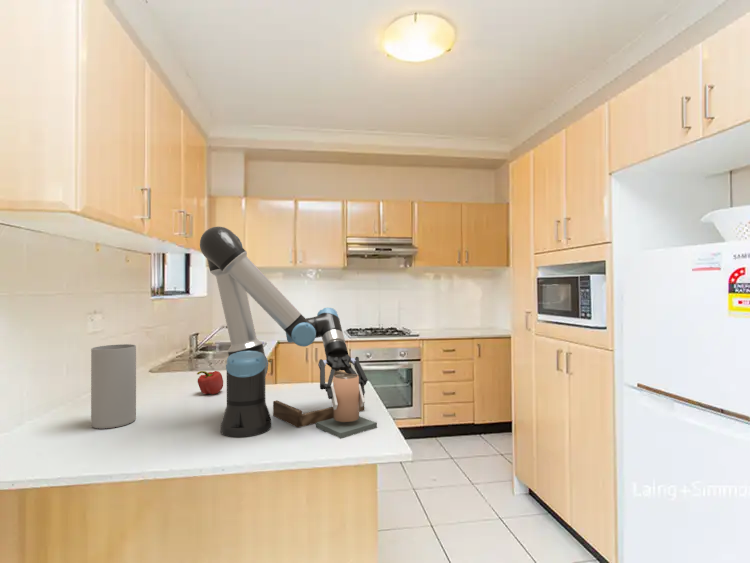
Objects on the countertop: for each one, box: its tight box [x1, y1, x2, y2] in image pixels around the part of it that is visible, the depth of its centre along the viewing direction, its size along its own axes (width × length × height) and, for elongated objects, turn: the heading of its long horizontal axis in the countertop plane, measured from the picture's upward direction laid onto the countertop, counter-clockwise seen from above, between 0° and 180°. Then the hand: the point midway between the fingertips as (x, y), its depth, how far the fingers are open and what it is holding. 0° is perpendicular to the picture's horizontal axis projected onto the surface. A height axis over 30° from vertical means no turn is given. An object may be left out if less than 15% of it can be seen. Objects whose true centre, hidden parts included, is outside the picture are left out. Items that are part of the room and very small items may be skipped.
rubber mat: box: [315, 415, 378, 439], centre depth 131 cm, size 14×13×2 cm
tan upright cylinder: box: [332, 373, 360, 422], centre depth 131 cm, size 8×8×13 cm
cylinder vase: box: [90, 343, 137, 430], centre depth 137 cm, size 12×12×25 cm
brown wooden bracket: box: [272, 370, 365, 429], centre depth 146 cm, size 27×16×12 cm, turn 131°
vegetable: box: [196, 370, 224, 395], centre depth 174 cm, size 11×10×10 cm
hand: (349, 405), depth 128 cm, fingers closed on tan upright cylinder, 8 cm apart
